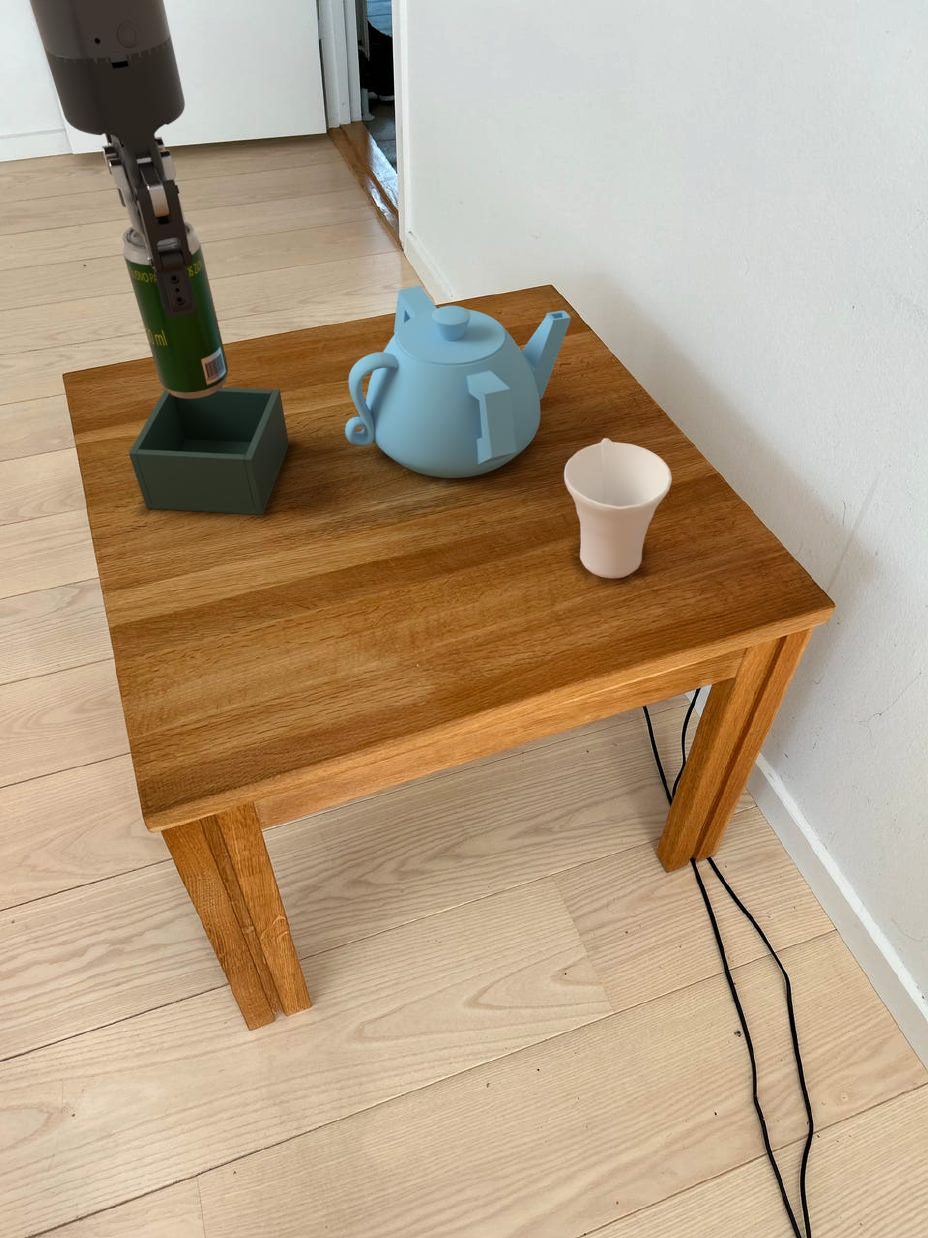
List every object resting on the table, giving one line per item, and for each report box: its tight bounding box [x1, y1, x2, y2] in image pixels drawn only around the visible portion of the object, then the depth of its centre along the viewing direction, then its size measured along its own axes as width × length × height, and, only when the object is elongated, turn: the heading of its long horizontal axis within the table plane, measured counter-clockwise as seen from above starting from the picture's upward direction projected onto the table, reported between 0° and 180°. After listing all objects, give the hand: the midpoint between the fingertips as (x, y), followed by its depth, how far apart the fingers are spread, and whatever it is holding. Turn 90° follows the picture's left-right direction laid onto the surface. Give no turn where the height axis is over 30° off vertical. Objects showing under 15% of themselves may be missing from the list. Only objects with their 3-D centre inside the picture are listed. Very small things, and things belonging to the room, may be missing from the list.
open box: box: [128, 386, 290, 516], centre depth 90 cm, size 11×11×6 cm
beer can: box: [121, 220, 229, 399], centre depth 70 cm, size 5×5×12 cm
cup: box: [563, 437, 673, 580], centre depth 80 cm, size 9×9×10 cm
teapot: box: [344, 284, 572, 479], centre depth 92 cm, size 19×19×14 cm
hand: (172, 293), depth 68 cm, fingers closed on beer can, 5 cm apart
